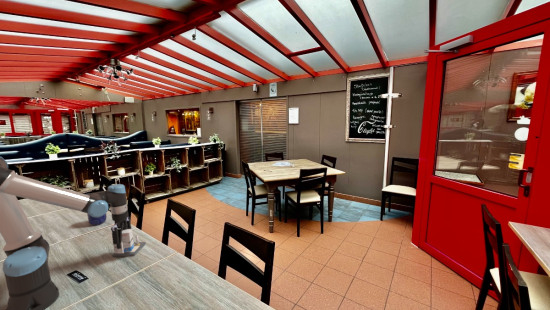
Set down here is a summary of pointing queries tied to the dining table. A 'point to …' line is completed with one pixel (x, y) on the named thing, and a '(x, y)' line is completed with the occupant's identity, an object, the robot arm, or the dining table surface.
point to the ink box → (126, 241)
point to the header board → (135, 250)
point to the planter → (96, 219)
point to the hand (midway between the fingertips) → (124, 249)
